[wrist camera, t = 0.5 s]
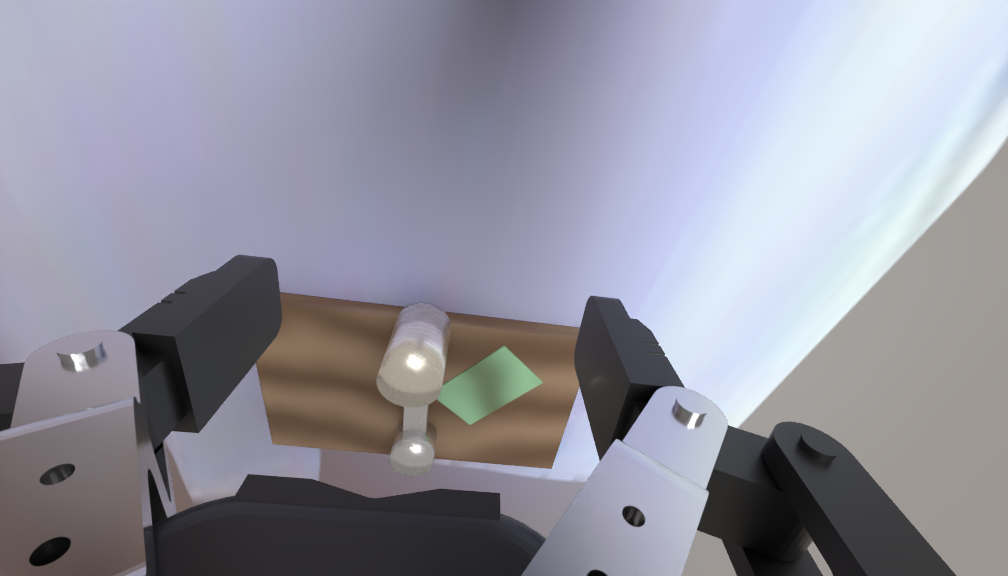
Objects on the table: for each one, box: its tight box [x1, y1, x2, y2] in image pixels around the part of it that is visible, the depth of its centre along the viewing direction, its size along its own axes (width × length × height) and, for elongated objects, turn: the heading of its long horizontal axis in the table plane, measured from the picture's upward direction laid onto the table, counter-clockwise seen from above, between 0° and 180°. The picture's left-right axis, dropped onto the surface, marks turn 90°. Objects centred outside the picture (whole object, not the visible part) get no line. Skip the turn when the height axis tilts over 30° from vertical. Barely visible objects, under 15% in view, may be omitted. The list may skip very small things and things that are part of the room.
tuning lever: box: [376, 303, 451, 476], centre depth 32 cm, size 16×4×6 cm, turn 171°
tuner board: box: [256, 292, 580, 469], centre depth 37 cm, size 16×26×2 cm, turn 81°
